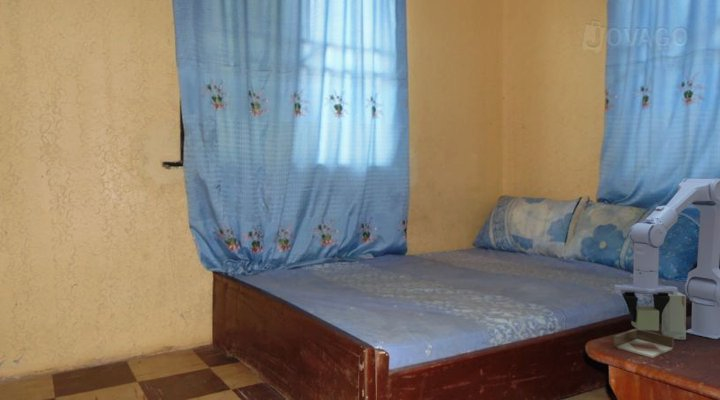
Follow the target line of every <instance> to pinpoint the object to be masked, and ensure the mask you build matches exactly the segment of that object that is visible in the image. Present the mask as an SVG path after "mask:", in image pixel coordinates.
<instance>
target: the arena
mask: <svg viewBox="0 0 720 400" xmlns="http://www.w3.org/2000/svg"><path fill="white" fill-rule="evenodd" d="M613 348H615V349H616V348H617V349H620V350H622V351H626V352H630V353H633V354H637V355H641V356H645V357H649V358H655V357H657V356H660V355H662V354H665V353H667V352H669V351H672V350H674V349H675V339H674V337H670V336H666V335H664V334H663V333H657V332H653V331H650V330H637V329H636V328H635V327H634V328H633V329H629V330H628V331H624V332H621V333H618V334H616V335H614V336H613Z"/></svg>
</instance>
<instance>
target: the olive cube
mask: <svg viewBox="0 0 720 400" xmlns="http://www.w3.org/2000/svg"><path fill="white" fill-rule="evenodd" d="M630 323H631V325H632V327H634V329H635V328H636V329H637V330H645V331H660V323H659V311H658V310H657V309H655V308H654V305H637V307H636V322H633V321H631V322H630Z"/></svg>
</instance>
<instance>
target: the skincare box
mask: <svg viewBox="0 0 720 400" xmlns="http://www.w3.org/2000/svg"><path fill="white" fill-rule="evenodd" d="M668 296H669V297H670V301H669V302H668V303H667V305H666V307H665V308H664V310H663V313H662V315H661V334H662V335H666V336H670V337H674V340H682V341H683V340H686V339H687V333H686V330H687V294H683V293H682V292H679V291H678V290H677V295H669V294H668Z"/></svg>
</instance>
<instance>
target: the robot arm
mask: <svg viewBox="0 0 720 400" xmlns="http://www.w3.org/2000/svg"><path fill="white" fill-rule="evenodd" d="M690 205H691V206H692V207H695V208H696V209H697V210H698V211H699V227H698V228H699V230H698V244H697V245H698V248H697V263H696V264H697V265H696V267H695V268H694V269H692V270H690V271H689V272H688V273H687V278H686V281H685V284H684V292H685V295H686V297H688V298H689V301H691V328H689V329H686V334H687V333H688V334H689V335H695V336H698V337H699V336H701V337H704V338H709V339H713V340H718V339H720V178H689V177H685V178H683V179H682V180H681V182H679V183H678V186H677V192H676V193H675V194H674V196H673V197H672V198H671V199H670V200H669V201H668V202H667V204H666V205H660V206H659V205H657V206H656V207H655V209H654V210H653V211H652V212H651V213H650V214H649V215H648V216H647V217H646V218H645V219H644V220H643V221H641V222H636V223H635V224H634V225H633V224H632V226H631V228H630V230H629V233H628V239H629V242H630V243H631V251H633V274H632V275H633V277H632V278H633V279H632V280H633V282H632V283H633V284H615V285H614V293H615V294H616V295H622V297H623V299H624V301H625V303H626V306H627V308H628V309H627V310H628V312H629V317H630V321H631V322H632V321H633V322H636V307H637V306H638V297H637V295H640V294H641V295H642V294H643V295H652V297H653V298H652V299H653V307H654V308H655V309H657V310H658V311H659V324H660V322H661V320H662V313H663V310H664V308H665V307H666V305H667V303H668V302H669V301H670V297H669V296H668V294H669V295H677V291H678V287H676V286H675V285H673V286H671V285H660V284H659V272H660V271H659V262H660V259H659V258H660V246H661V245H663V244H664V242H665V238H666V236H667V234H668V231H669V230H670V229H671V228H672V227H674V225H675V224H676V223H677V222H678V221H679V220H678V219H679V217H678V215H679V214H680V213H681V212H682V211H684V210H685V209H686V208H687V207H689V206H690Z"/></svg>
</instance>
